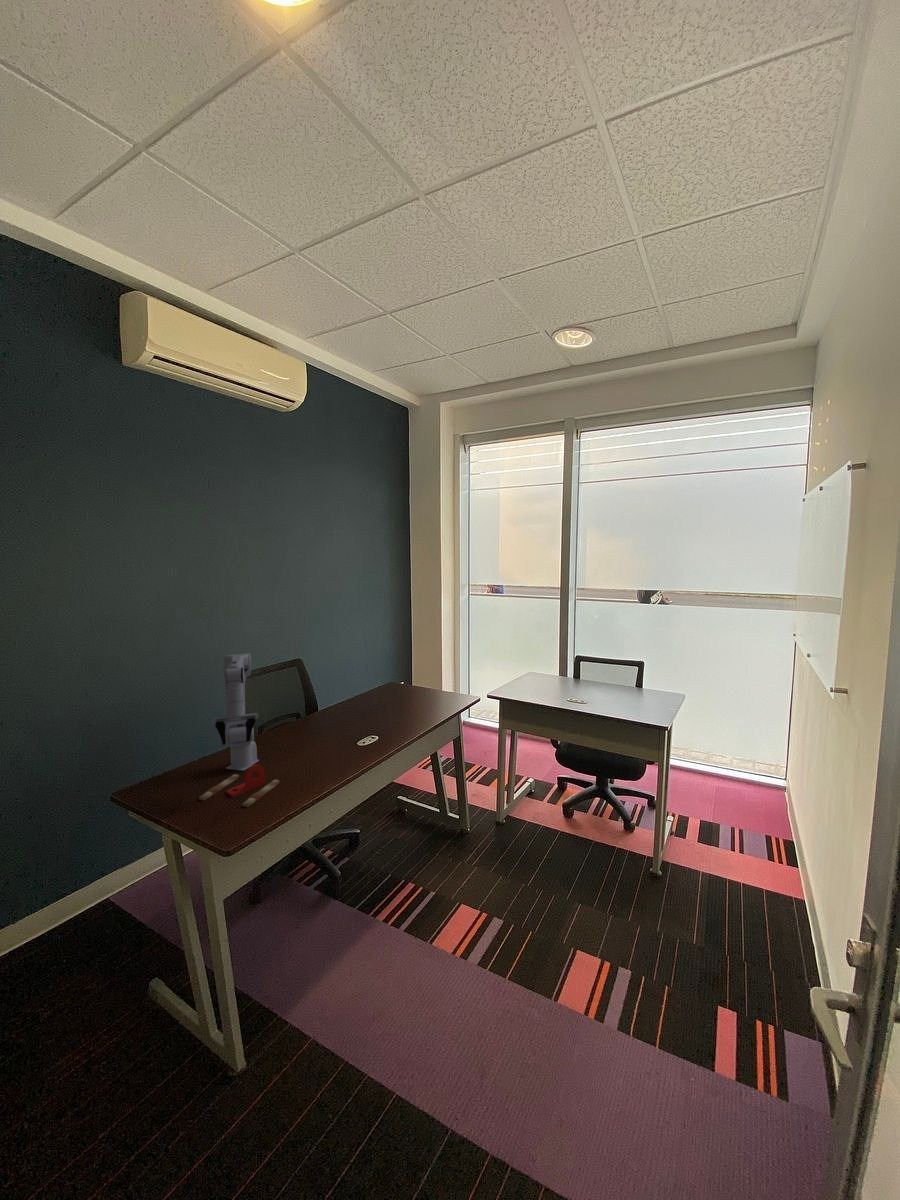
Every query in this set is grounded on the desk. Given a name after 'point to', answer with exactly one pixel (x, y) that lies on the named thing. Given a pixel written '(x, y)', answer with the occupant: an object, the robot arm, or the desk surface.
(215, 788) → the guide track
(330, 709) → the desk surface
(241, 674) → the robot arm
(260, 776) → the bracket
